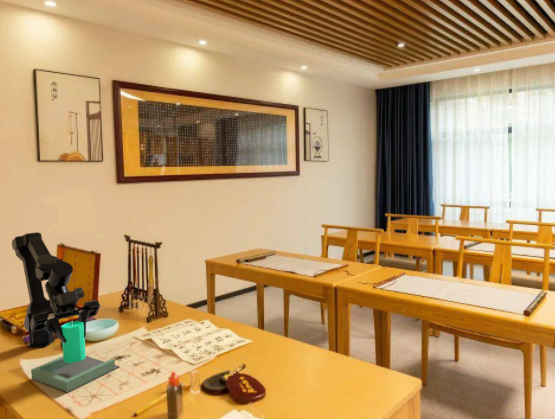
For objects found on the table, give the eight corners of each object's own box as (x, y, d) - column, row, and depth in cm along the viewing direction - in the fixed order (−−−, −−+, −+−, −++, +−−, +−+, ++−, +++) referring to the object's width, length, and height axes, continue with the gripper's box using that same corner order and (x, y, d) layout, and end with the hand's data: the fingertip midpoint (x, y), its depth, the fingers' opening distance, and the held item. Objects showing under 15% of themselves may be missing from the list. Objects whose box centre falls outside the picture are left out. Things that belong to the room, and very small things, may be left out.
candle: (71, 364, 124) (68, 324, 123) (59, 360, 127) (56, 320, 126) (90, 356, 129) (87, 317, 128) (77, 352, 132) (74, 314, 131)
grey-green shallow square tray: (84, 356, 140) (83, 347, 139) (119, 367, 131) (118, 357, 131) (31, 379, 125) (31, 369, 125) (67, 393, 116) (66, 382, 116)
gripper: (29, 287, 122) (45, 335, 115) (95, 274, 135) (113, 316, 128) (23, 308, 128) (38, 354, 121) (87, 294, 141) (104, 335, 135)
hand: (75, 339), depth 126 cm, fingers closed on candle, 5 cm apart
